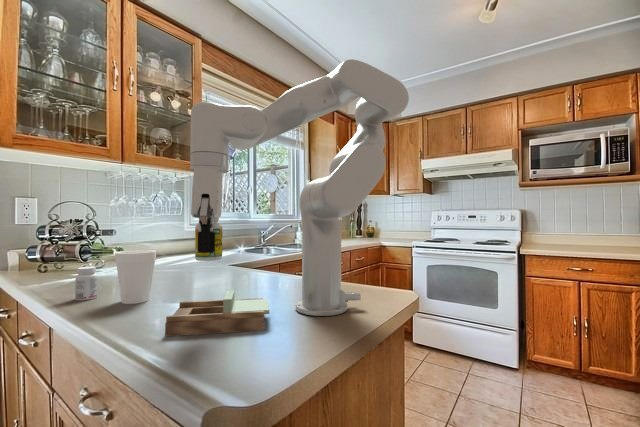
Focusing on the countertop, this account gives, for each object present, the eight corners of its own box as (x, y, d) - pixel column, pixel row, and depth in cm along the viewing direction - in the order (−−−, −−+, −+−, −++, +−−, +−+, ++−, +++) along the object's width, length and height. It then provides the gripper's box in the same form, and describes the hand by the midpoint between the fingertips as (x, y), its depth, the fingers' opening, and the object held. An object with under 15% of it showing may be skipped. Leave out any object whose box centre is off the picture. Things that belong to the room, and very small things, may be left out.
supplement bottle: (207, 257, 68) (208, 214, 68) (227, 258, 66) (228, 213, 66) (188, 260, 63) (189, 213, 63) (210, 261, 61) (210, 213, 61)
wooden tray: (262, 312, 73) (263, 297, 73) (264, 329, 61) (264, 312, 61) (180, 316, 69) (180, 301, 69) (165, 336, 57) (165, 317, 57)
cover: (267, 302, 71) (267, 288, 72) (269, 313, 63) (269, 298, 63) (227, 304, 70) (227, 290, 70) (222, 316, 61) (223, 300, 61)
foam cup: (108, 301, 82) (109, 252, 82) (144, 294, 89) (145, 249, 89) (124, 307, 76) (125, 254, 76) (162, 299, 84) (162, 251, 84)
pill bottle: (95, 295, 88) (95, 265, 88) (98, 298, 85) (99, 267, 85) (73, 298, 85) (74, 267, 85) (76, 301, 81) (77, 269, 82)
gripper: (197, 170, 73) (197, 247, 72) (180, 155, 56) (179, 255, 56) (231, 171, 74) (230, 247, 74) (224, 156, 58) (223, 255, 57)
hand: (208, 249), depth 65 cm, fingers closed on supplement bottle, 5 cm apart
